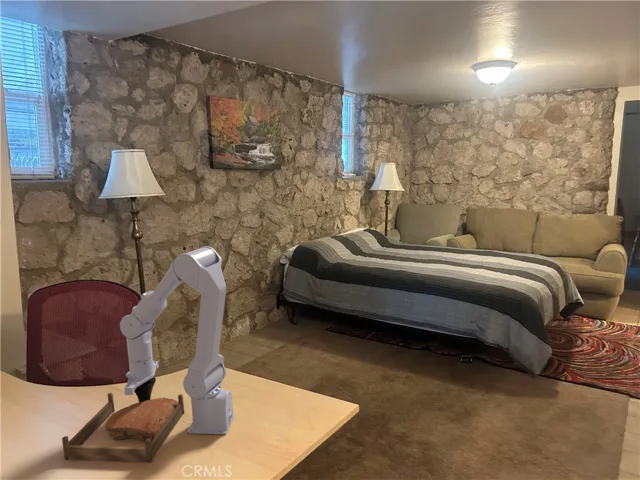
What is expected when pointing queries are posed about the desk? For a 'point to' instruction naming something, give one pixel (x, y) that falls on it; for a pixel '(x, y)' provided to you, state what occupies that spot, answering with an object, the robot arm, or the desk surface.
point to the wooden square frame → (114, 453)
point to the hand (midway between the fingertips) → (145, 406)
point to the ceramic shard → (141, 419)
